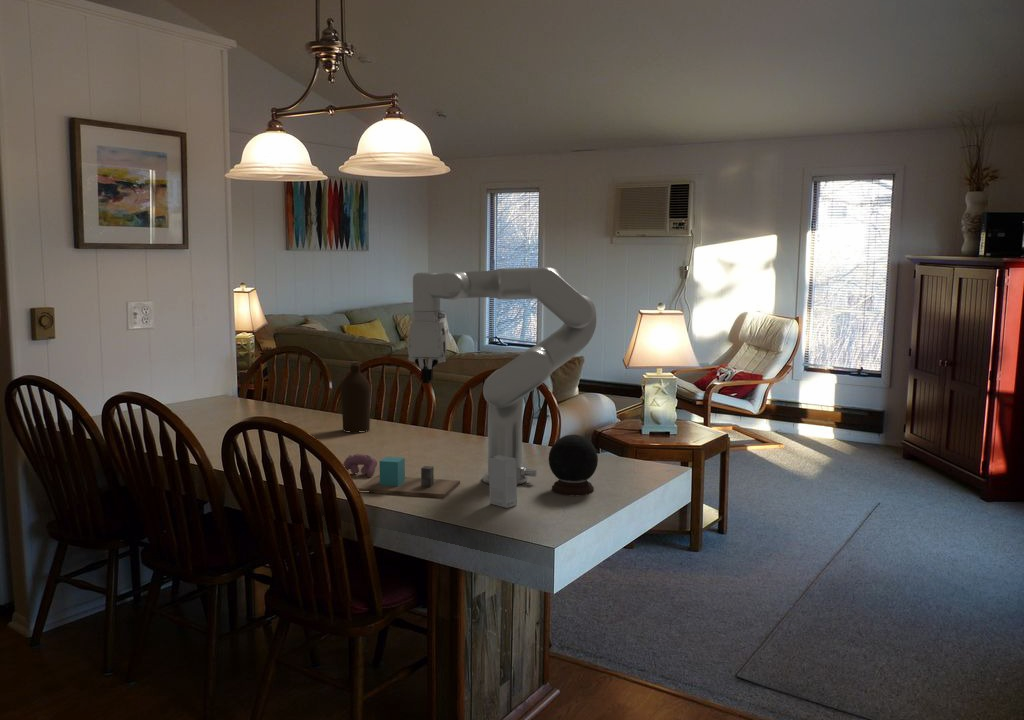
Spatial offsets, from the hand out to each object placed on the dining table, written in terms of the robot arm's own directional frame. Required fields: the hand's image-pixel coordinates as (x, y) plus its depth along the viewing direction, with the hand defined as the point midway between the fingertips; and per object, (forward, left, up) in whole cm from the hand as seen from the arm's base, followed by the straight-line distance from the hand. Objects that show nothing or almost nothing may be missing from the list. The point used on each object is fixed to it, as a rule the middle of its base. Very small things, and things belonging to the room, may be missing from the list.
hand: (427, 382), depth 235 cm
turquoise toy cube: (+6, +12, -26) cm, 29 cm away
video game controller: (+20, +2, -27) cm, 34 cm away
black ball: (-42, +3, -27) cm, 50 cm away
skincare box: (-27, +21, -27) cm, 44 cm away
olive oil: (+46, -56, -27) cm, 77 cm away
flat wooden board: (+1, +12, -27) cm, 30 cm away
